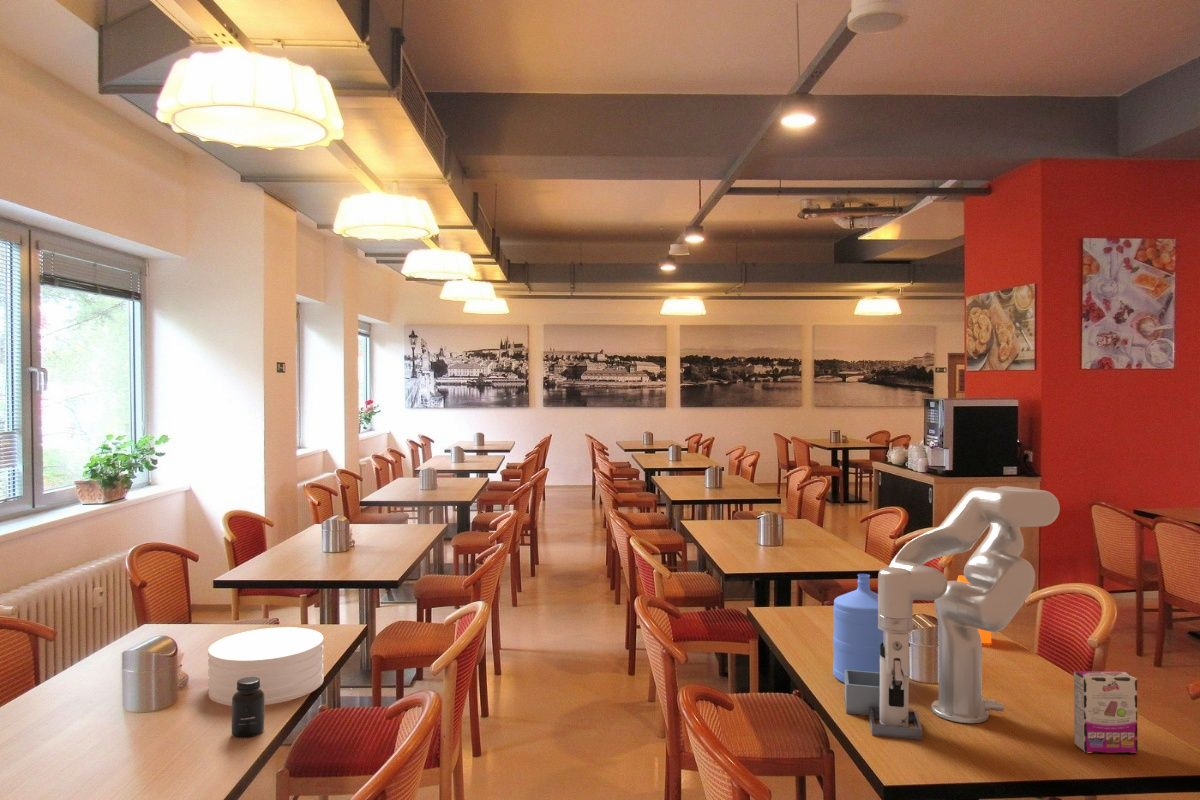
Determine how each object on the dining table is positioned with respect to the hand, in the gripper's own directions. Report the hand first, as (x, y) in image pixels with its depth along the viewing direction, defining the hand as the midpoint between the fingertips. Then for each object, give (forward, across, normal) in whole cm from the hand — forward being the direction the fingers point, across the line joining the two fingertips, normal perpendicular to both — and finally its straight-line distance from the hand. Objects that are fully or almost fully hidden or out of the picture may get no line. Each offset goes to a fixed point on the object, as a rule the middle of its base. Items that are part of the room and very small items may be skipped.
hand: (894, 699), depth 187 cm
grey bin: (+7, +12, +5) cm, 14 cm away
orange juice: (+7, +76, -30) cm, 82 cm away
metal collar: (+7, 0, 0) cm, 7 cm away
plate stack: (+7, -13, +157) cm, 158 cm away
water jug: (+7, +32, +5) cm, 33 cm away
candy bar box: (+7, 0, -43) cm, 44 cm away
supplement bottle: (+7, -40, +142) cm, 148 cm away
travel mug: (+7, 0, 0) cm, 7 cm away
